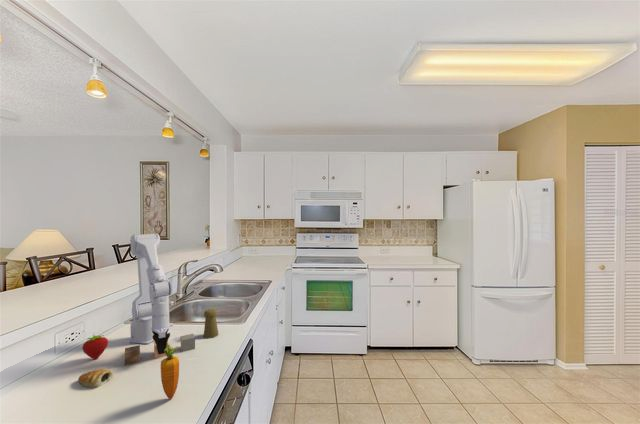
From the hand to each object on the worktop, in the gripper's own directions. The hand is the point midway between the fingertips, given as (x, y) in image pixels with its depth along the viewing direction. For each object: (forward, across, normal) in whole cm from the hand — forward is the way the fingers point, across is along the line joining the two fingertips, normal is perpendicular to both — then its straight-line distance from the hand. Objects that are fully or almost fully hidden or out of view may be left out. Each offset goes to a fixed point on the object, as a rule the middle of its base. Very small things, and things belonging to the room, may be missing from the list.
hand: (161, 350), depth 110 cm
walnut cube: (+2, 0, +9) cm, 9 cm away
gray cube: (+2, 0, -9) cm, 9 cm away
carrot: (+2, -32, -1) cm, 32 cm away
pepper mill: (+2, +8, -19) cm, 21 cm away
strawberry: (+2, +9, +20) cm, 23 cm away
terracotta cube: (+2, 0, 0) cm, 2 cm away
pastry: (+2, -9, +19) cm, 21 cm away
